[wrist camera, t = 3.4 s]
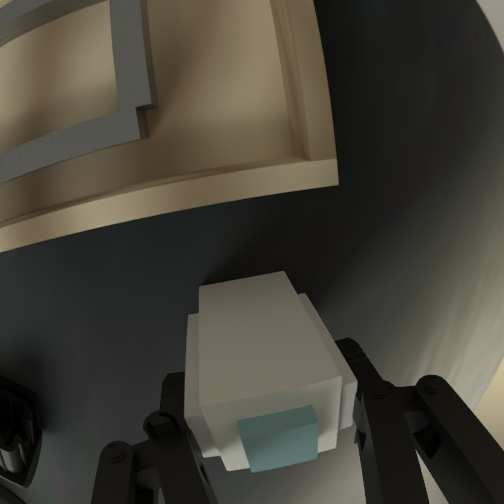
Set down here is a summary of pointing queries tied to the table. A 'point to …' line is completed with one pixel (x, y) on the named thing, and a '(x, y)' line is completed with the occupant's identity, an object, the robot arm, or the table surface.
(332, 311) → the table surface
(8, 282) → the table surface
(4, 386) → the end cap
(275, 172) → the birch box
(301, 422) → the white block teal patch
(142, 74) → the grey rectangular frame
